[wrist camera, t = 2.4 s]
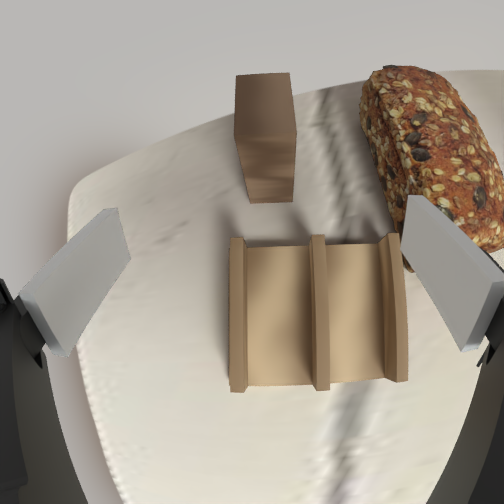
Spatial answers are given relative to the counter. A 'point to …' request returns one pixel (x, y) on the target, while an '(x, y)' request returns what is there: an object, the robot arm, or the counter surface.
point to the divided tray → (316, 314)
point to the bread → (432, 152)
